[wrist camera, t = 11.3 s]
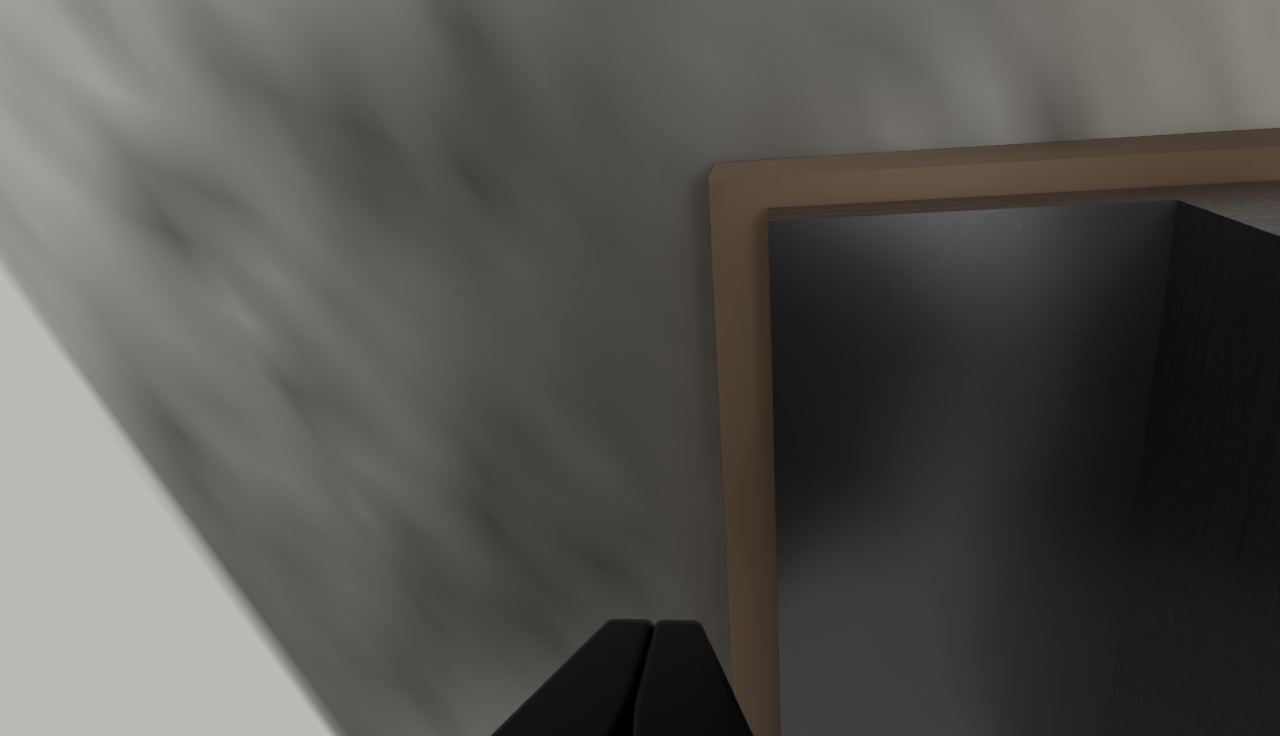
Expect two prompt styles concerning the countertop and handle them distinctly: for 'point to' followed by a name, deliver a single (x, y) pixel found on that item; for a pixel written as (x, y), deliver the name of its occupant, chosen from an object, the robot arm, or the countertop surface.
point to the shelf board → (746, 309)
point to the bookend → (1029, 463)
